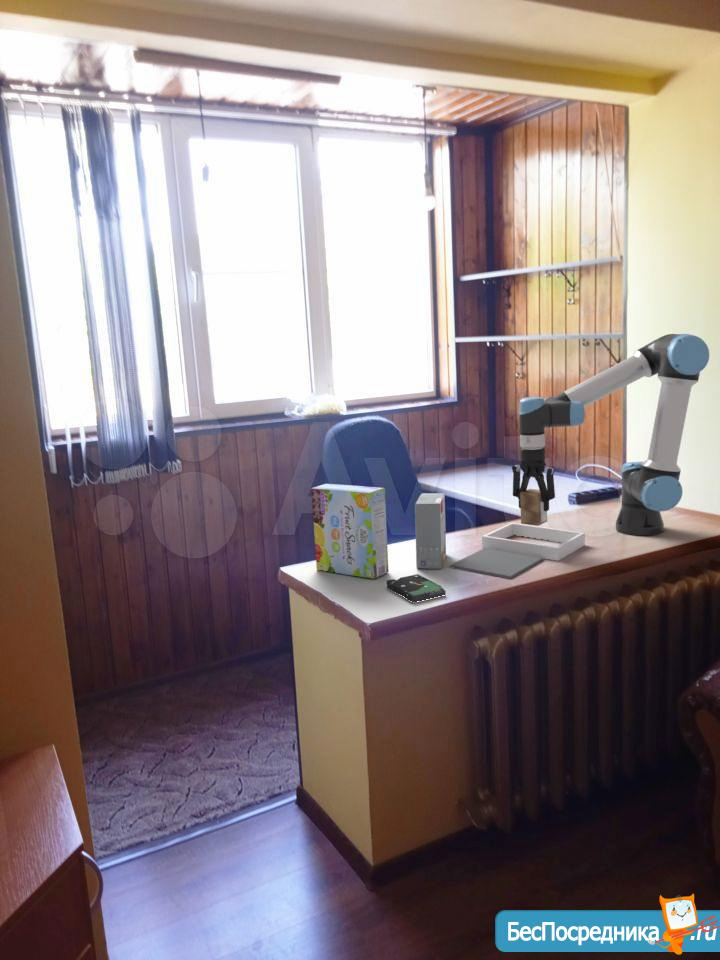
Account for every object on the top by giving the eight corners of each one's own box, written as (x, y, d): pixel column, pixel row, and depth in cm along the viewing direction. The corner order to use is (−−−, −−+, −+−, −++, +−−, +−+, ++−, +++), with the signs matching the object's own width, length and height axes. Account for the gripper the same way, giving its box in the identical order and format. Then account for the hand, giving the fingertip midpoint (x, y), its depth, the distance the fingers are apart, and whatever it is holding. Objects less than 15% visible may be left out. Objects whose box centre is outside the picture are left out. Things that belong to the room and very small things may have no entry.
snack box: (390, 572, 225) (386, 487, 220) (374, 580, 218) (370, 493, 213) (331, 562, 237) (326, 481, 232) (314, 570, 230) (309, 487, 225)
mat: (543, 560, 228) (543, 557, 228) (510, 578, 213) (510, 576, 213) (485, 550, 241) (485, 547, 241) (450, 567, 226) (450, 564, 226)
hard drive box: (442, 569, 224) (439, 504, 220) (416, 569, 226) (413, 504, 222) (446, 554, 239) (444, 492, 235) (422, 553, 241) (420, 492, 237)
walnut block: (547, 521, 241) (546, 490, 239) (538, 525, 236) (537, 494, 234) (530, 519, 245) (529, 488, 243) (521, 523, 240) (520, 492, 238)
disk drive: (386, 590, 211) (413, 605, 198) (385, 580, 211) (412, 595, 198) (417, 582, 216) (446, 597, 203) (417, 573, 215) (446, 587, 202)
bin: (584, 545, 241) (584, 532, 240) (557, 560, 227) (557, 548, 226) (511, 534, 257) (511, 522, 257) (482, 548, 243) (481, 536, 242)
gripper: (499, 448, 239) (501, 519, 244) (555, 451, 227) (556, 526, 231) (511, 444, 245) (513, 513, 249) (566, 447, 232) (567, 520, 237)
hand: (534, 519), depth 240 cm, fingers closed on walnut block, 6 cm apart
